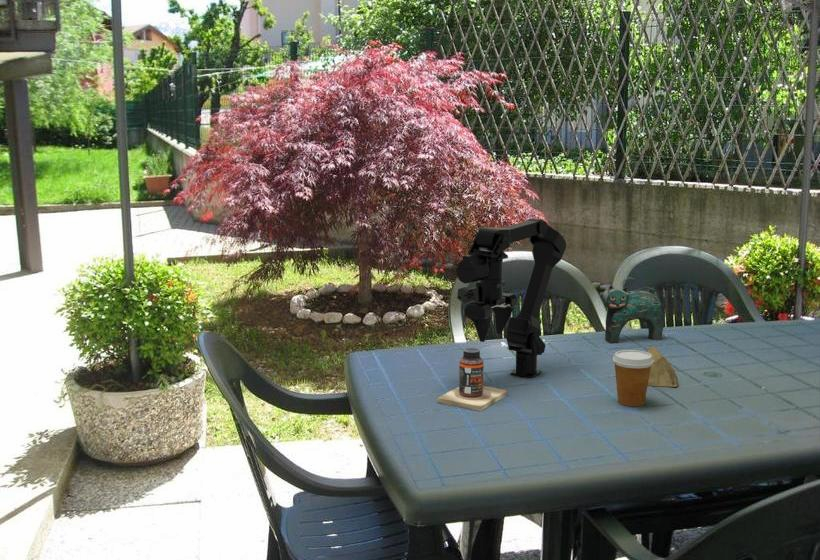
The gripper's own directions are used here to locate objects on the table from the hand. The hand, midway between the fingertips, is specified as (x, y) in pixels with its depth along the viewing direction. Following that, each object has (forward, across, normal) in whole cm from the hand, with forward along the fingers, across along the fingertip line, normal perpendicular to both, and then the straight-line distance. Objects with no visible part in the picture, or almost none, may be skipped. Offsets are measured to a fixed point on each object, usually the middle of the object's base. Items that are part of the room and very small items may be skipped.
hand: (490, 337), depth 222 cm
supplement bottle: (+12, +12, +1) cm, 17 cm away
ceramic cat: (+13, -64, +16) cm, 67 cm away
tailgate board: (+13, +11, +1) cm, 17 cm away
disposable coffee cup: (+13, -7, +35) cm, 38 cm away
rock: (+13, -24, +36) cm, 45 cm away
